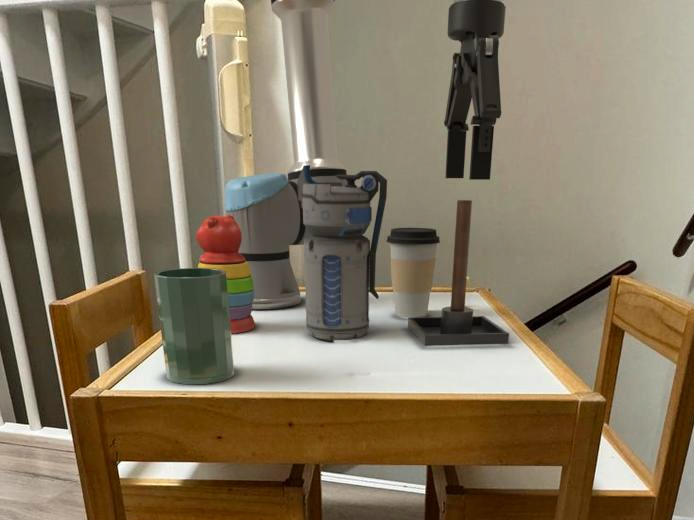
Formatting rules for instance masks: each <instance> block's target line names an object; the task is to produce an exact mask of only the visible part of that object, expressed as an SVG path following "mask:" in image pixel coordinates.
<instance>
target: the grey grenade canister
mask: <svg viewBox="0 0 694 520" xmlns="http://www.w3.org/2000/svg"><path fill="white" fill-rule="evenodd" d="M336 177H337V178H339V179H346V181H347V183H348V185H346V186H345V187H342V183H317V182H315V181H313V180H312V178H311V176H310V165H305V166H303V168H302V170H301V173H300V176H299V178H298V200H299V201H301V208H302V209H303V224H304V225H305V227H306V228H307V230H308V232H309V233H310V234H311V236H309V237H307V238H306V239H305V240H304V245H303V254H304V257H303V258H304V288H305V290H304V291H305V316H306V317H305V326H306V327H305V328H306V331H307V332H308V333H309V335H310V336H311V337H314V338H316V339H319V340H321V341H329V342H334V341H342V340H353V339H358V338H363V337H364V336H366V335H367V333H368V331H369V328H370V315H369V314H370V313H369V311H370V309H369V308H370V294H371V295H372V296H373V297H374V298H375V299H376V300H379V298H380V296H379V294H378V292H377V290H376V265H377V264H376V263H377V260H376V259H377V249H378V245H379V239H380V235H381V229H382V223H383V220H384V219H383V218H384V213H385V207H386V204H387V203H386V201H387V196H388V195H387V194H388V193H387V192H388V179H387V178H385V177H384V176H383V175H382V174H381V173H380V172H378V171H377V170H361V171H359V172H357V173H356V174H347V175H336ZM361 178H362V180H361V185H360V186H357V185H356V181H357V180H360V179H361ZM377 193H379V194H378V195H379V197H378V202H377V209H376V214H375V220H374V226H373V231H372V238H371V240H370V239H369V238H368V237H367V236H365V235H364V234H365V233H366V231H367V230H368V229H369V227H370V225H371V222H372V221H373V220H372V219H373V218H372V217H373V214H372V211H373V208H372V206H371V202H372V200H373V198H374V197H375V196H376V195H377Z"/></svg>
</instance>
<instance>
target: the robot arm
mask: <svg viewBox="0 0 694 520" xmlns="http://www.w3.org/2000/svg"><path fill="white" fill-rule="evenodd" d="M450 1H451V2H452V4H450V6H449V7H448V17H447V38H449V39H450V40H452V41H454V42H455V41H456V42H457V41H458V42H460V49H459V52H453V55H452V65H451V66H452V67H451V76H450V81H449V82H450V83H449V89H448V96H447V102H446V107H445V115H444V120H443V126H444V127H446V129H447V139H446V140H447V141H446V156H445V157H446V159H445V160H446V161H445V179H464V177H465V163H466V146H467V145H466V144H467V132H468V131H469V129H470V128H469V124H470V125H472V132H471V145H470V146H471V147H470V164H469V177H468V179H469V180H471V181H472V180H473V181H474V180H475V181H477V180H483V181H484V180H485V181H489V180H491V171H492V159H493V158H492V157H493V145H494V132H495V125H496V123H497V119H500V118H501V117H502V102H501V101H502V100H501V85H500V84H501V83H500V67H499V45H500V41H499V39H500V38H502V37H503V36H504V33H505V24H506V23H505V21H506V10H507V9H506V8H507V6H505V3H504V2H503V1H504V0H450ZM270 6H271V11H272V13H273V14H274V15H276V17H277V18H278V19H279V20H280V23H281V34H282V46H283V56H284V67H285V68H284V69H285V78H286V89H287V90H286V91H287V100H288V110H289V111H288V112H289V121H290V132H291V133H290V134H291V142H292V145H291V146H292V155H293V164H292V165H291V167H290V168H289V170H288V171H287V174H285V173H283V172H272V173H270V172H269V173H264V174H263V173H262V174H261V173H260V174H253V175H252V174H251V175H246V176H241V177H237V178H232V179H230V180H229V181H228V182H227V183H226V184H225V187H224V191H225V192H224V197H225V198H224V210H225V216H227V215H231V216H233V217H234V219H235V222H236V223H237V224H238V225H239V227H240V229H241V233H242V241H241V245H240V248H239V251H238V253H240V254H242V255H243V257H244V258H245V261H246V262H248V264H249V268H250V271H251V276H252V279H253V285H254V289H253V290H254V299H253V302H252V304H253V305H252V310H276V309H285V308H290V307H294V306H297V305H298V304H300V303H301V290H300V288H299V285H298V281H297V279H296V276H295V273H294V269H293V268H292V267H293V266H292V264H291V256H290V254H291V253H290V246H304V240H305V239H306V238H307V237H309V236H311V234H310V233H309V232H308V230H307V228H306V227H305V225H304V224H303V209H302V208H301V201H299V200H298V178H299V176H300V173H301V170H302V168H303V166H305V165H310V176H311V178H312V180H313V181H315V182H317V183H342V187H345V186H346V185H348V183H347V181H346V179H339V178H337V177H336V175H348V174H347V168H346V167H345V166H344V165H343V164H342V163H341V162H340V161H339V158H338V157H339V156H338V144H337V129H336V127H337V126H336V115H335V101H334V89H333V88H334V87H333V73H332V60H331V47H330V32H329V20H328V19H329V16H330V15H331V13H332V12H333V11H334V9H335V8H336V0H270ZM471 103H472V107H473V113H474V115H472V117H471V120H470V123H469V124H468V123H467V119H468V115H469V112H470V107H471Z"/></svg>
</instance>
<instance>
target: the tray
mask: <svg viewBox="0 0 694 520" xmlns="http://www.w3.org/2000/svg"><path fill="white" fill-rule="evenodd" d="M407 328H408V329H409V330H410V331H411V332H412V333H413V335H415V337H416V338H417V339H418V340H419V341H420V342H421V343H422V345H423V347H424V346H425V347H432V346H466V345H467V346H468V345H471V346H473V345H502V344H503V345H507V344H509V343H510V333H509V332H508V331H506V330H505V329H504V328H502V327H500V326H499V325H498V324H496V323H495V322H493V321H492V320H491V319H489V318H488V317H486V316H484V315H473V320H472V333H471V334H440V329H441V316H424V317H407Z"/></svg>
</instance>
